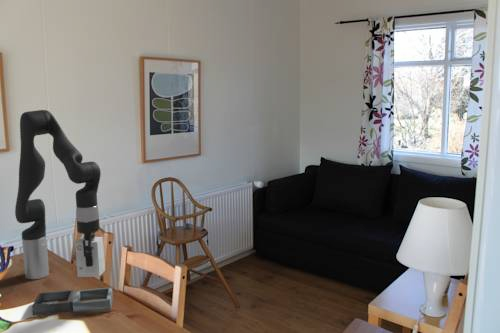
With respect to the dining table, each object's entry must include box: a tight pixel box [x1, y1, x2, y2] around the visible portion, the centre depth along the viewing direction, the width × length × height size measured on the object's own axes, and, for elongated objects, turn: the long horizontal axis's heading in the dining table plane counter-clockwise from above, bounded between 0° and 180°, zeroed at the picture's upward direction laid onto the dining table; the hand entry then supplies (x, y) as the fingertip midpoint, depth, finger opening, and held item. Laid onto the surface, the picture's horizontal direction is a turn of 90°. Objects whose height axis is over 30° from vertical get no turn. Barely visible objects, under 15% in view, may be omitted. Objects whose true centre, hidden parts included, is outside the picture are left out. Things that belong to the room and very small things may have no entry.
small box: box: [74, 236, 106, 278], centre depth 161 cm, size 8×6×13 cm
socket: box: [31, 289, 76, 316], centre depth 163 cm, size 11×12×4 cm
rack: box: [72, 286, 114, 317], centre depth 163 cm, size 12×13×4 cm
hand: (90, 262), depth 161 cm, fingers closed on small box, 7 cm apart
